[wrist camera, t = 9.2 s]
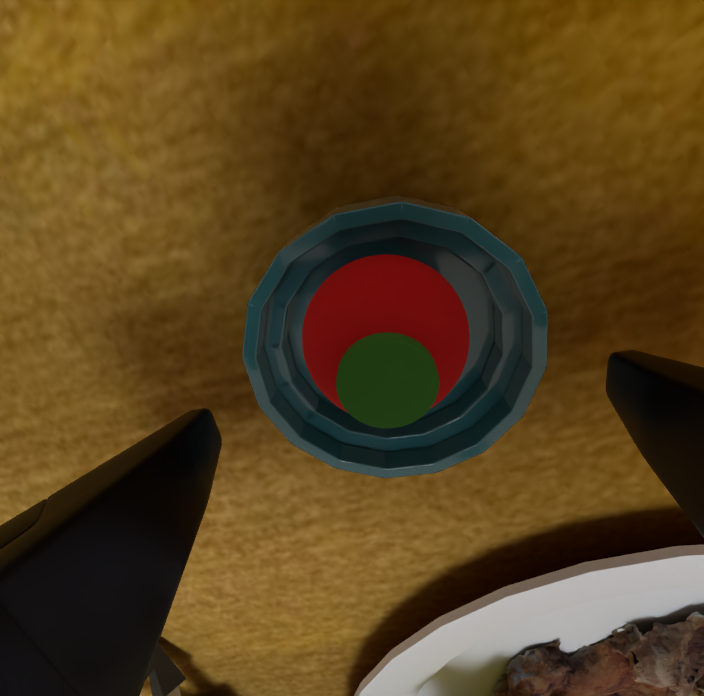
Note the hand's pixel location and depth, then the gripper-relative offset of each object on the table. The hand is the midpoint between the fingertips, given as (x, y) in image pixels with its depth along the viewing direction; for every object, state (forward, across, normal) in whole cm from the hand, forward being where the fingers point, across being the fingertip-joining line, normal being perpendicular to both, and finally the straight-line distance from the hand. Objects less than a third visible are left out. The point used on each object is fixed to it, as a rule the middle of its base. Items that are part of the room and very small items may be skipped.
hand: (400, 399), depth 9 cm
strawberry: (+3, 0, -1) cm, 4 cm away
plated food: (+4, -9, +24) cm, 25 cm away
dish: (+4, 0, 0) cm, 4 cm away
